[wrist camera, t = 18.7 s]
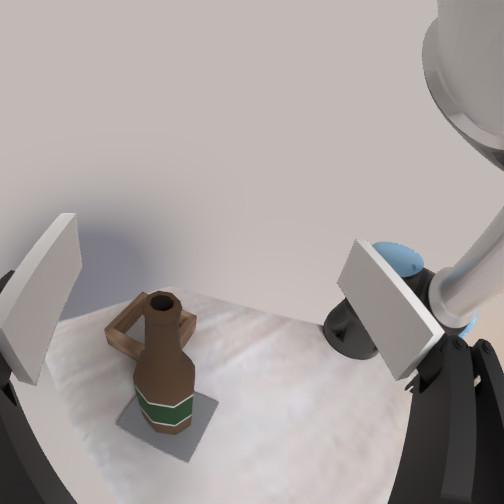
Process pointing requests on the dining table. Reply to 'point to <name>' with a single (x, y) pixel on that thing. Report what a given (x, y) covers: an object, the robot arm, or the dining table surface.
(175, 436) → the coaster
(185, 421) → the beer bottle
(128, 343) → the caddy
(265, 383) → the dining table surface
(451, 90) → the robot arm
